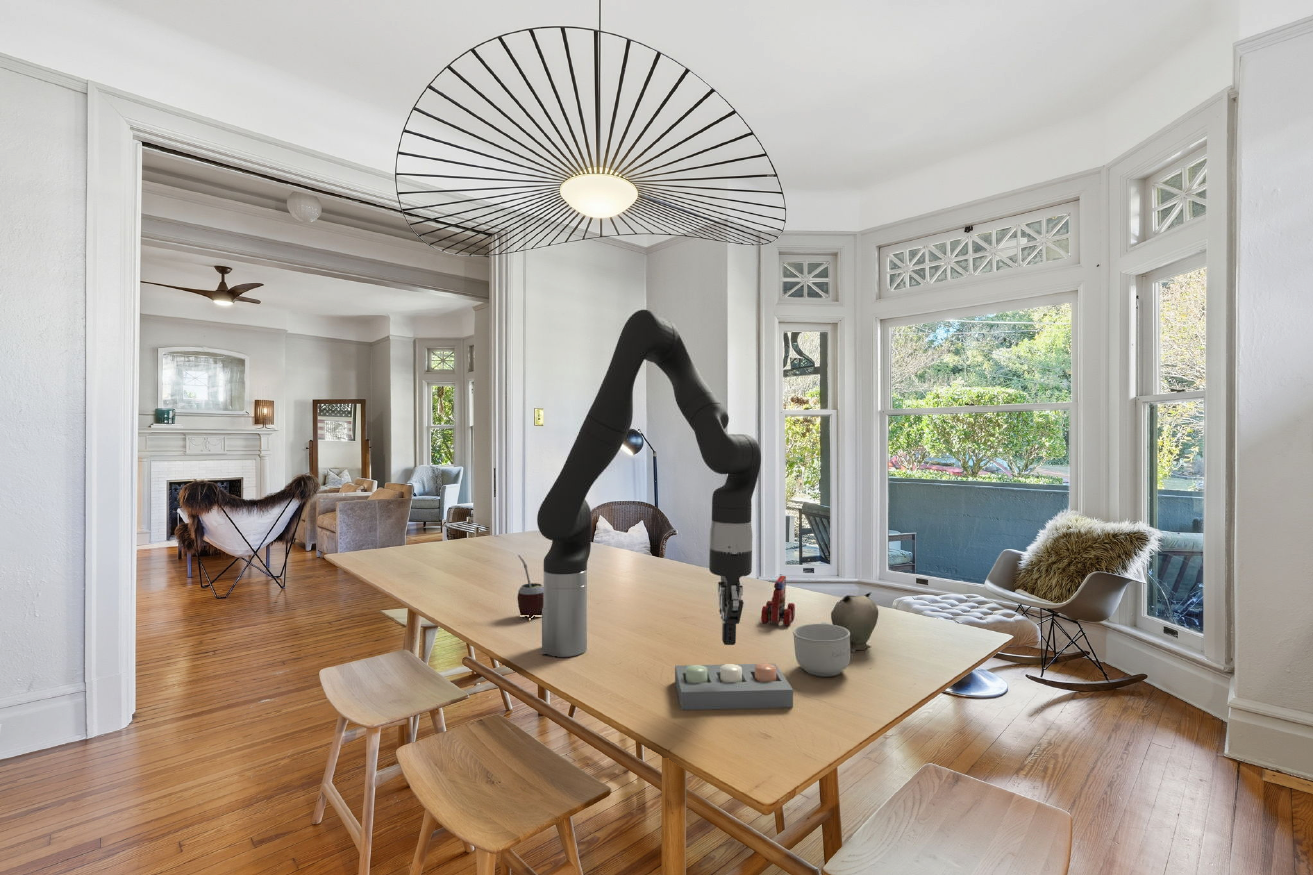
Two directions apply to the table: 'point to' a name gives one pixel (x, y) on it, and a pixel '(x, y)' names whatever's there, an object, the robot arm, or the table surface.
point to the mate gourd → (530, 596)
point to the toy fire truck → (778, 605)
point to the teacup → (822, 648)
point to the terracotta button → (765, 672)
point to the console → (732, 690)
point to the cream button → (730, 673)
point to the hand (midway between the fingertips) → (728, 643)
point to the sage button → (696, 674)
